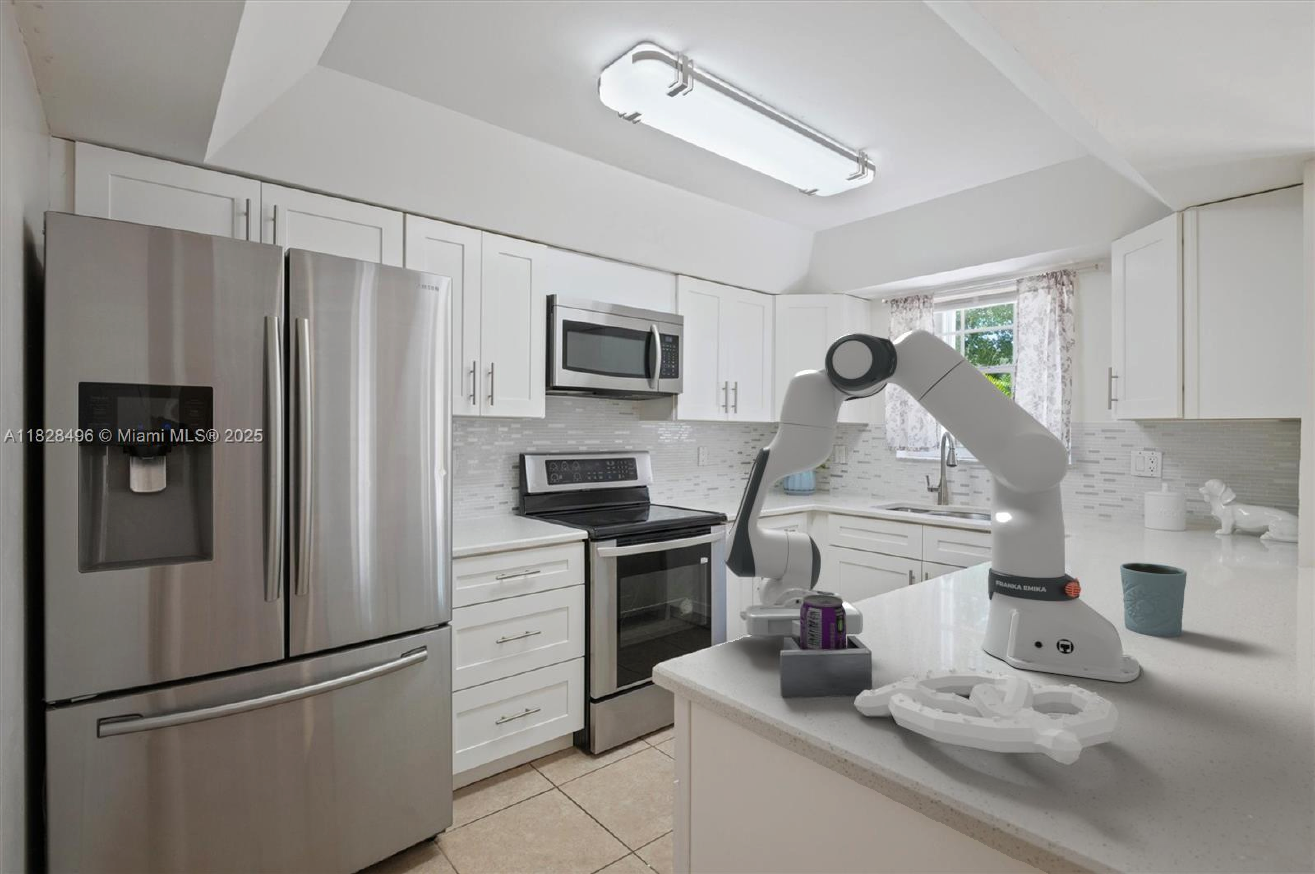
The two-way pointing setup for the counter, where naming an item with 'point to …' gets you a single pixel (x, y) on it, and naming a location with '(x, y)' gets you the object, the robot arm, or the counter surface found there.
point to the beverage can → (822, 623)
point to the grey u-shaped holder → (825, 670)
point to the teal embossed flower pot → (1153, 598)
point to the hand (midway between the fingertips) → (814, 634)
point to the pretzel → (995, 712)
